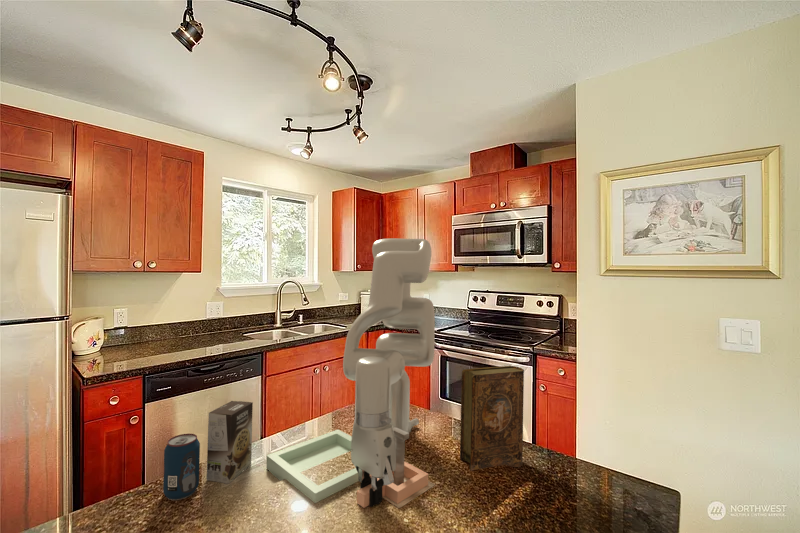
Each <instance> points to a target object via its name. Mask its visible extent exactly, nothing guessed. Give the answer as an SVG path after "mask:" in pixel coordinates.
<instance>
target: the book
mask: <svg viewBox="0 0 800 533" xmlns="http://www.w3.org/2000/svg"><path fill="white" fill-rule="evenodd" d="M524 375H525V370H524V369H523V368H522V367H519V366H515V365H504V366H503V365H501V366H500V365H499V366H491V367H488V366H487V367H477V368H466V369H463V370H461V386H460V387H461V389H460V390H461V392H460V393H461V394H460V438H459V440H460V441H459V442H460V444H459V447H460V448H459V458H460V459H459V460H460V461H465V462H467V463H469V471H475V470H480V469H487V468H492V467H498V466H503V465H506V466H509V467H510V468H513V467H518V468H521V467H520V466H522V467H523V460H524V459H523V454H524V452H523V449H524V448H523V446H524V444H523V443H524V442H523V441H524V392H525V390H524V389H525V388H524V387H525V386H524V384H525V380H524V379H525V376H524Z"/></svg>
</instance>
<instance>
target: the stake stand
mask: <svg viewBox="0 0 800 533" xmlns="http://www.w3.org/2000/svg"><path fill="white" fill-rule="evenodd" d="M393 431H394V437H395V448H396V469H395V471H394V475H393V478H394V482H393V483H394V484H395V485H397V486H399V485H400V484H402V483H404V482H406V481H407V480H409V479H408V478H406V477H404V461H405V455H406V454H405V453H406V452H405V449H406V446H405V441H406V440H408V439H410V432H409V433H408V432H406V431H403V430H401V429H399V428H396V427H394V428H393ZM434 486H436V483H434V482H432V481H430V480H428V485H427V486H425V487H424V488H422V489H421V490H419V491H417V492H416V493H414V494H413V495H411V496H409V497H408V498H406V499H404V500H403V501H401V502H400V503H398V504H397V503H396V502H394V501H392V500H391V499H389V498H388V497H386V496H384V497H382V499H384V500H385V501H387V502H388V503H390V504H391V505H393V506H395V507H396V508H398V509H400V508H402V507H403V506H405V505H407V504H408V503H410V502H411V501H413V500H415V499H416V498H418V497H419V496H420V495H423V493H425V492H427V491H428V490H431V489H432V488H433V487H434Z"/></svg>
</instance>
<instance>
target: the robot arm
mask: <svg viewBox="0 0 800 533" xmlns="http://www.w3.org/2000/svg"><path fill="white" fill-rule="evenodd" d="M371 250H372V257H373V264H372V272H371V273H372V274H371V283H370V291H369V299H368V301H369V302H368V305H367V307H366V309H364V310H363V311H362V312H361V313H360V314H359V315H358V316H357V318H356V319H355V320H354V321H353V323H351V326H350V328H349V330H348V332H347V334H346V340H345V346H344V352H343V359H342V368H343V369H342V371H343V375H344V376H345V378H346V379H348V380H350V381H353V382H354V381H355V384H354V386H355V391H354V392H355V393H354V395H355V396H354V398H355V401H354V402H355V403H354V421H353V425H352V432H351V436H352V439H351V451H350V459H351V463H352V464H353V466H354V467H355V468H356V470H357V472H358V479H359V481H358V482H360V484H359V486H360V487H359V489H361V488H364V487H366V486H368V485H370V484H372V488H371V489H370V490H369V493H370V498H369V505H368V506H369V508H372V507H374V506H375V505H379V504H381V502H383V497H382V486H384V485H390V484H391V483H393V482H394V478H393V474H392V471H395V469H396V448H395V437H394V431H393V428H394V427H396V428H399V429H401V430H403V431H406V432H408V433H409V434H410V433H411V432H412V429H413V428H414V427H416V426H417V425H419V424H420V420H419V418H417V417H416V418H413V419H411V420H410V401H411V399H410V392H411V390H410V389H411V388H410V387H411V381H410V377H409V375H408V373H407V371H406V370H405V368H406V367H418V368H419V367H423V368H424V367H430V366H431V365H432V364H433V362H434V357H435V332H436V331H435V330H436V329H435V327H436V326H435V322H436V321H435V319H436V318H435V307H434V303H433V302H432V300H431V299H429V298H426V297H412V296H411V284H422V283H424V282H426V280H427V278H428V276H429V272H430V265H431V260H432V246H431V242H429V241H428V240H427V239H424V238H395V237H393V238H382V239H378V240H376V241H374V242H373V244H372V247H371ZM380 322H382V323H383V325H384V326H385V327H387V328H391V329H402V330H403V329H405V330H417V331H418V332H419V333H407V332H405V333H404V332H387V333H383V334H381V335H380V336H378V338H377V340H376V342H375V348H365V347H364V348H363V347H362V348H361V347H360V348H359V345H360V341H361V338H362V336H363V334H365V332H366V331H367V330H369V328H371V327H372V326H374V325H377V324H378V323H380ZM371 475H372V477H371ZM370 477H371V478H370ZM377 478H379V480H378V481H377Z"/></svg>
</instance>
